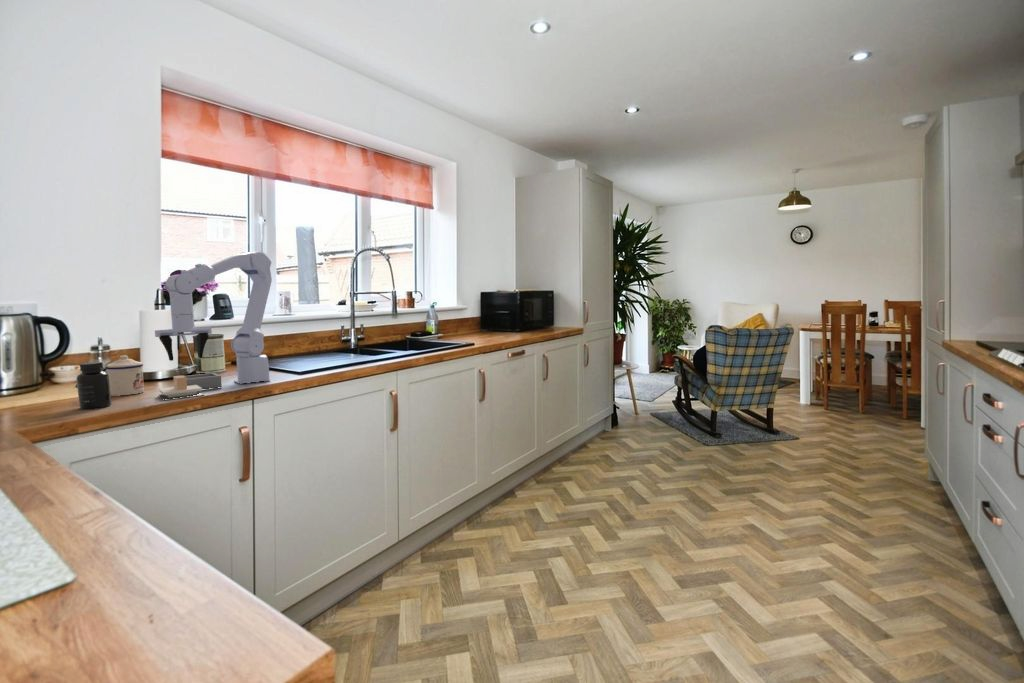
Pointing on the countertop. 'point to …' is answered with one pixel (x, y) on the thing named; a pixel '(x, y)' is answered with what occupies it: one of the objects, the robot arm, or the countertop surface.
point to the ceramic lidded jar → (125, 376)
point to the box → (204, 380)
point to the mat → (176, 396)
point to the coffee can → (210, 355)
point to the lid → (180, 388)
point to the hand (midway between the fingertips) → (186, 359)
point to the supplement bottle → (93, 386)
